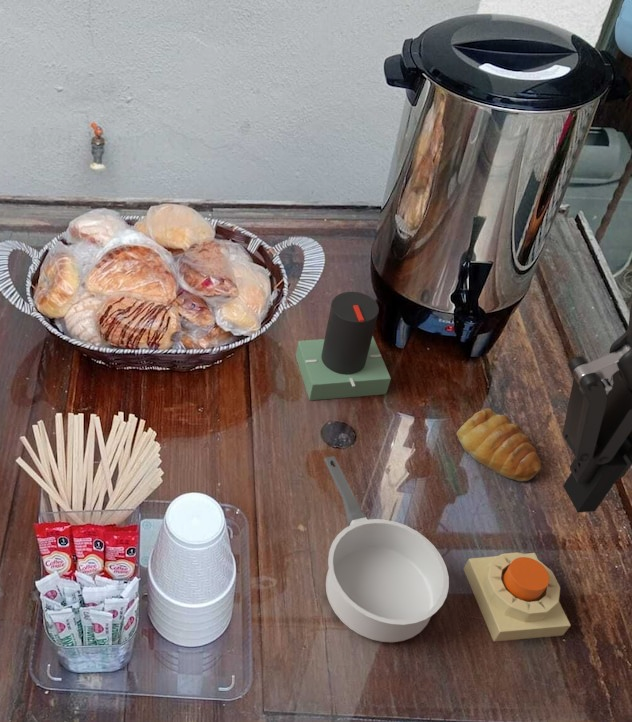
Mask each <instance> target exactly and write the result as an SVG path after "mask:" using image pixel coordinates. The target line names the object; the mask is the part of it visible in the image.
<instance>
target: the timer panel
mask: <svg viewBox="0 0 632 722" xmlns="http://www.w3.org/2000/svg"><path fill="white" fill-rule="evenodd" d="M324 339H325V338H318V339H305V340H304V339H303V340H297V346H296V347H297V348H296V351H295V358H296V362H297V365H298V369H299V372H300V375H301V378H302V381H303V384H304V388H305V390H306V394H307V397H308V400H309V401H320V400H332V399H346V398H356V397H368V396H369V397H370V396H381V395H387V394H388V390H389V387H390V383H391V380H392V378H391V375H390V373H389V371H388V369H387V366H386V364H385V361H384V359H383V356H382V354H381V352H380V349H379V347H378V345H377V343H376V340H375V338H374V335H373V336H372V340H371V344H370V348H369V352H368V356H367V360H366V364H365V366H364V368H363V369H362V370H360V371H359V372H357V373H354V374H340V373H336V372H334V371H332V370H330V369H329V368H327V367H326V366H325V365H324V363H323V361H322V358H321V355H322V350H323V345H324Z"/></svg>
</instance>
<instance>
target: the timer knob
mask: <svg viewBox="0 0 632 722" xmlns="http://www.w3.org/2000/svg"><path fill="white" fill-rule="evenodd" d="M379 310H380V306H379V304H378V302H377V301H376V300H375V299H374V298H372V297H371V296H370V295H367V294H365V293H362V292H359V291H345V292H341V293H339V294H337V295H336V296H334V297H333V299H332V301H331V304H330V309H329V313H328V319H327V323H326V324H327V325H326V330H325V335H324V338H323V339H324V345H323V350H322V355H321V358H322V361H323V363H324V365H325V366H326V367H327V368H329V369H330V370H332V371H334V372H336V373H340V374H354V373H357V372H359V371H360V370H362V369H363V368H364V366H365V364H366V360H367V356H368V352H369V348H370V344H371V340H372V336H373V337H374V332H375V328H376V325H377V320H378V317H379V312H380V311H379Z"/></svg>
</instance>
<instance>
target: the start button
mask: <svg viewBox="0 0 632 722" xmlns="http://www.w3.org/2000/svg"><path fill="white" fill-rule="evenodd" d="M504 584H505V586H506V588H507V589H508V591H509V592H510V593H511V594H513V595H514V596H515V597H517V598H519V599H522V600H528V601H529V600H535V599H537V598H539V597H540V596H541V594H542V593H543V591H544V590H545V589H546V587H547V586H548V584H549V574H548V572H547V570H546V569H545V567H544V566H543V565H542V564H541V563H539V562H538V561H536V560H534V559H531V558H527V557H520V558H516V559H515V560H513V561H512V562H511V564H510V566H509V567H508V569H507V571H506V572H505V574H504Z"/></svg>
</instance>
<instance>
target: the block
mask: <svg viewBox="0 0 632 722" xmlns="http://www.w3.org/2000/svg"><path fill="white" fill-rule="evenodd" d="M520 557H527V558H531V559H534V560H536V561H538V562H539V563H541V564H542V565H543V566H544V567H545V569H546V570H547V572H548V574H549V584H548V586H547V587H546V589H545V590H544V591H543V593H542V594H541V596H540V597H539V598H537V599H535V600H529V601H528V600H522V599H519V598H517V597H515V596H514V595H513V594H511V593H510V592H509V591H508V589H507V588H506V586H505V584H504V574H505V572H506V571H507V569H508V567H509V566H510V564H511V562H512V561H513V560H515V559H516V558H520ZM463 571H464V574H465V576H466V579H467V581H468V583H469V586H470V588H471V591H472V593H473V596H474V598H475V601H476V603H477V605H478V607H479V610H480V612H481V615H482V618H483V619H484V622H485V624H486V627H487V629H488V632H489V634H490V636H491V639H492V641H493V642H503V641H517V640H526V639H527V640H528V639H535V638H536V639H538V638H549V637H550V638H551V637H561V636H564V635H565V633H567V631H568V630H569V629H570V627H571V625H572V624H571V623H570V620H569V619H568V617H567V614H566V612H565V611H564V609H563V607H562V604H561V602H560V595H561V586H560V584H559V582H558V580H557V578H556V576H555V574H554V572H553V571H552V570H551V569H550V568H549V567H548V566H547V565H546V564H545V563H543V562H542V561H540V560H539V558H538V557H537V554H536V553H535V552H529V553H523V552H517V551H516V552H509V553H508V552H507V553H501V554H499V555H494V556H484V557H471V558H468V560H467V561H466V563H465V565H464V567H463Z"/></svg>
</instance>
